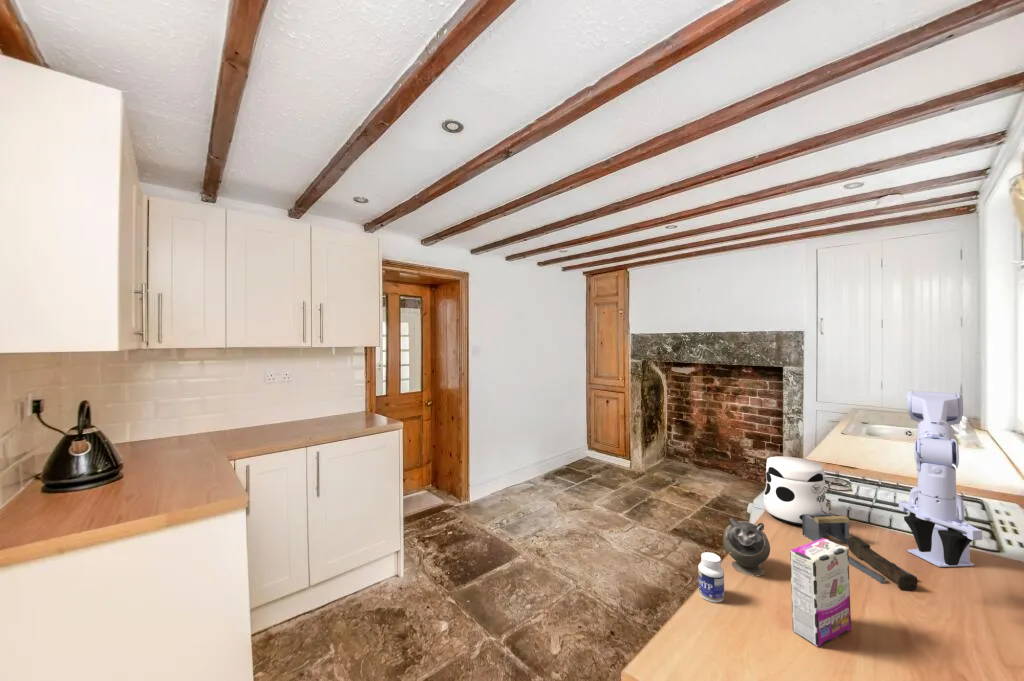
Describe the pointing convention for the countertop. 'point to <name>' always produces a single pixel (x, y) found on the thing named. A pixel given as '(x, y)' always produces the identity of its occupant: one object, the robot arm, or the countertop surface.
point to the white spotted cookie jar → (794, 488)
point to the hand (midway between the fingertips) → (937, 557)
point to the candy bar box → (820, 591)
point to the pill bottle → (711, 578)
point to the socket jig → (834, 535)
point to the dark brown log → (882, 564)
